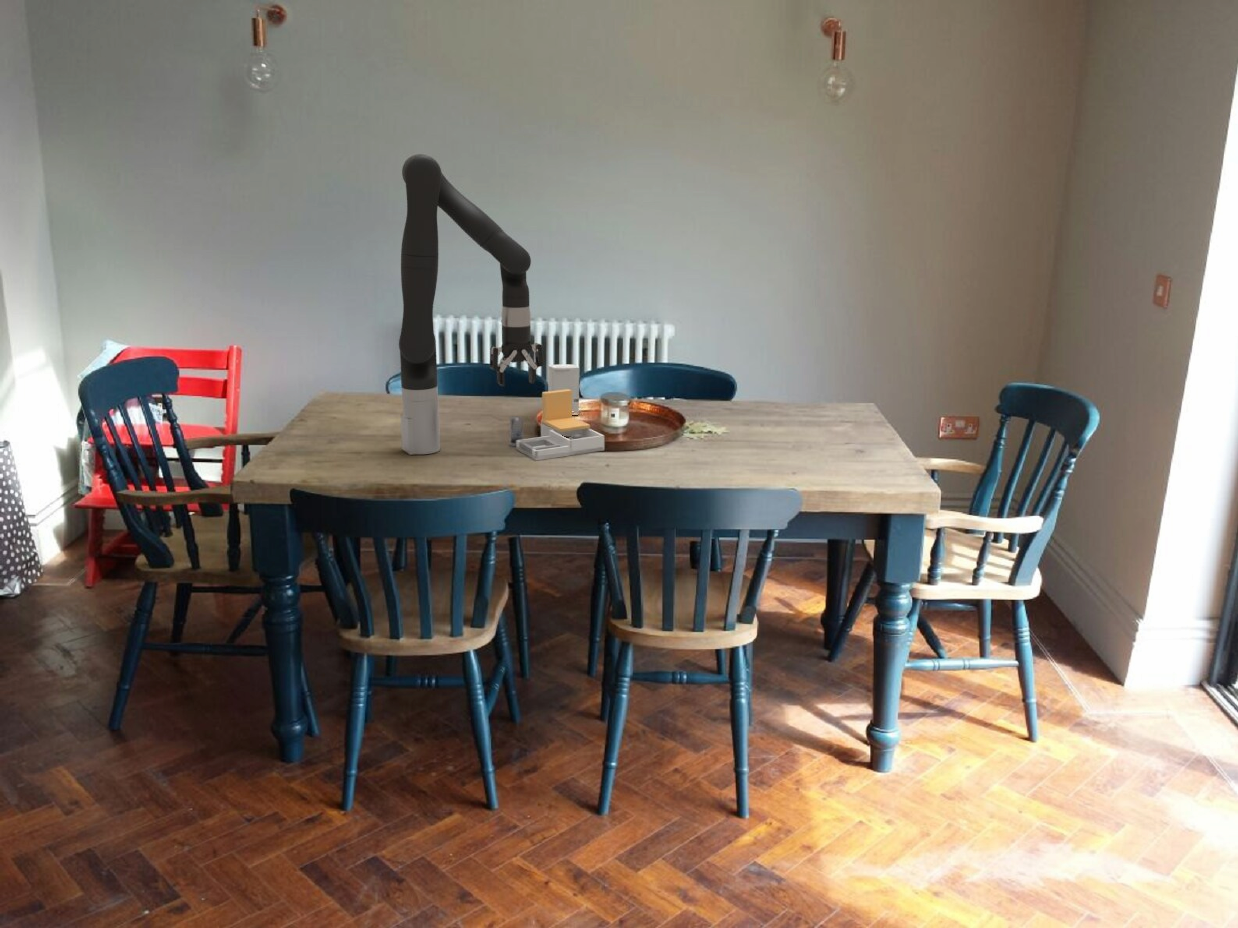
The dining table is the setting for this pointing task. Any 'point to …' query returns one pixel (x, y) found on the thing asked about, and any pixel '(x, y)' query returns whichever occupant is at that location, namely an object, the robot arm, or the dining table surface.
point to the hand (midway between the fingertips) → (516, 384)
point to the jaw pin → (516, 430)
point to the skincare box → (565, 381)
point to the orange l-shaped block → (560, 411)
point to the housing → (560, 443)
